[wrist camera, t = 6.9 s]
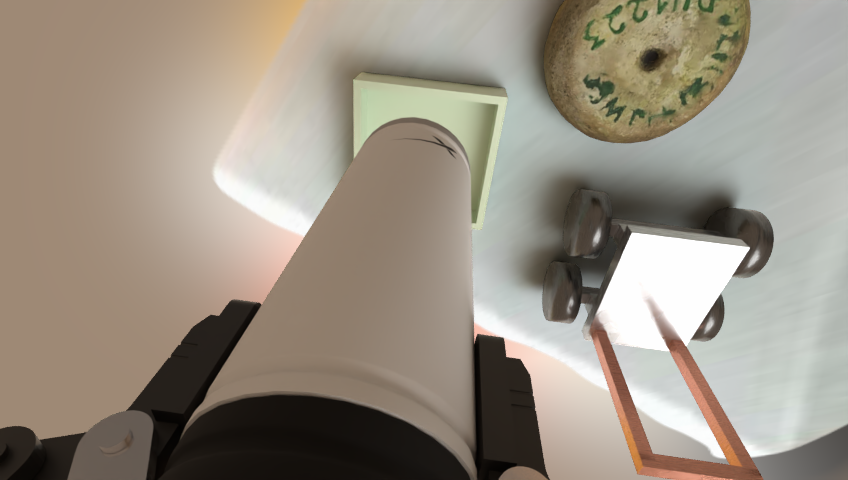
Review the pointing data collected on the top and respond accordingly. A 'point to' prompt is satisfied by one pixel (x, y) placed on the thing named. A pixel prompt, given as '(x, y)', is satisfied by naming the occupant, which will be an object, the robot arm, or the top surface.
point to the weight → (641, 62)
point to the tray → (437, 119)
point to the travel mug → (358, 335)
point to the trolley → (659, 309)
